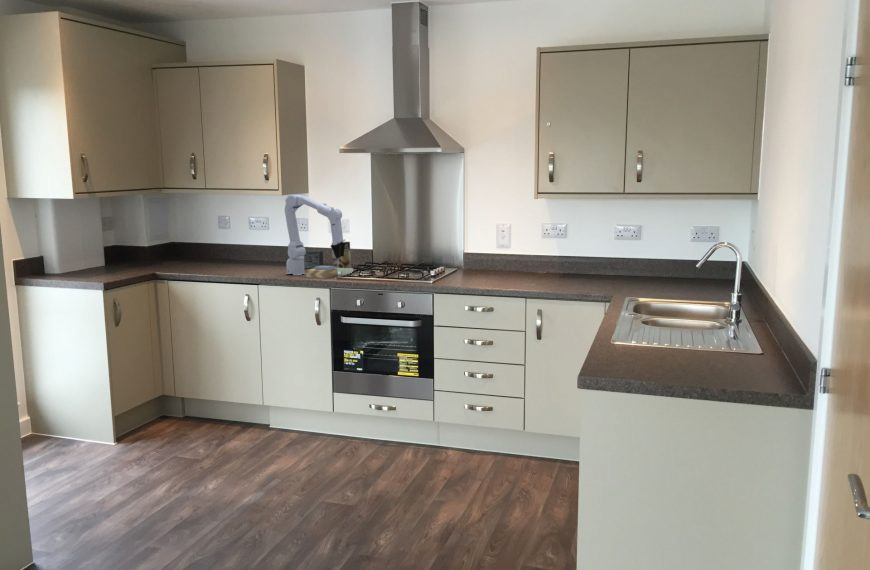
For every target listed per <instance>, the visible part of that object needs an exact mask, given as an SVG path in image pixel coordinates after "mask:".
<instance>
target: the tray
mask: <svg viewBox="0 0 870 570" xmlns="http://www.w3.org/2000/svg"><path fill="white" fill-rule="evenodd" d="M337 270H338V276H339V277H340V276H341V277H343V276H347V274H348V275H351V274H350V273H352V272H353V271H354V272H355V268H352V267H351V268H337ZM352 274H353V273H352ZM338 276H337V277H338Z"/></svg>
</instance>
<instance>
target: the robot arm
mask: <svg viewBox="0 0 870 570" xmlns="http://www.w3.org/2000/svg"><path fill="white" fill-rule="evenodd" d="M303 205H305V206H308V207H310V208H312V209H315V210H317V213H318V214H320V215H322V216H323V217H326V218H327V219H328V220H329V223H330V231H331V232H330V233H331V240H332V241H331V244H330V248H331V250H332V249H333V252H334V254H335V257H336V258H340V257H342V256H344V249H345V245H346V243H343V242H346V239H344V235H343V227H342V220H341V219H342V218H343V212H342V211H341V210H340V209H339V208H334V207H333V206H329V205H328V204H327V203H326V202H324V203H318V202H317V201H315V200H314V199H311V198H309V197H308V196H306V195H304V194H300V193H299V194H289V195H288V196H287V197H286V198H285V207H284V215H285V220H286V221H285V222H286V227H287V232H288V237H289V242H288V245H287V255H288V259H287V260H286V263H285V264H286V274H293V275H292V276H303V275H302V274H304V275H306V271H305V269H304V255H305V254H306V251H307V250H306V248H305V245H304V243H303V242H302V241H301V239H300V238H301V237H300V232H299V227H298V221H297V216H296V212H297V210H299V208H301V207H302V206H303ZM332 243H333V245H332Z"/></svg>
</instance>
